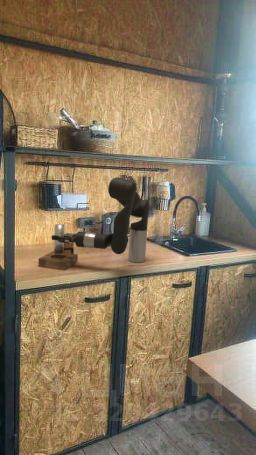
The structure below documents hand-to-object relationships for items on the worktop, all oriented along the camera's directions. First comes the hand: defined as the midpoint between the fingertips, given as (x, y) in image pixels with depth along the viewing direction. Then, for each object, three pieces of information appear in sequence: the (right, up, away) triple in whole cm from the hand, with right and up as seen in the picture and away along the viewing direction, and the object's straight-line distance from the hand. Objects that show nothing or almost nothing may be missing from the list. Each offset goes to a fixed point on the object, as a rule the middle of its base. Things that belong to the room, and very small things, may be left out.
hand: (54, 236), depth 183 cm
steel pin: (+2, -8, +1) cm, 8 cm away
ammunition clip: (+2, -12, +16) cm, 20 cm away
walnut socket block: (+2, -14, +2) cm, 14 cm away
